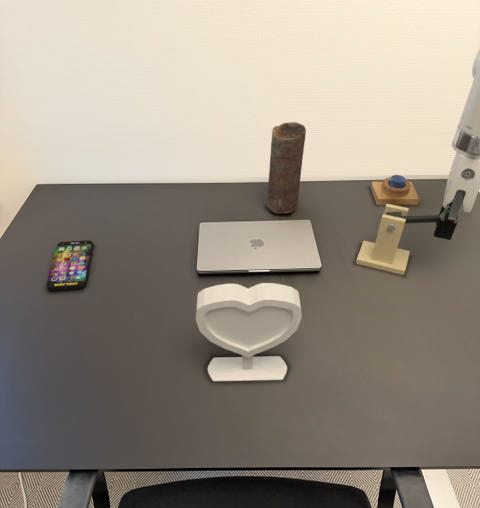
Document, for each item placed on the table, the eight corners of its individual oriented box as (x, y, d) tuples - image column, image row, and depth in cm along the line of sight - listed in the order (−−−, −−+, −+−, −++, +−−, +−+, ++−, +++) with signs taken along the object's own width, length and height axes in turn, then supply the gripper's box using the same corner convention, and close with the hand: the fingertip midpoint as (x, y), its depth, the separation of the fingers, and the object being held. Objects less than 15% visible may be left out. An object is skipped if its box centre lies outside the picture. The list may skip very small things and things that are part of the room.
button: (402, 181, 116) (403, 174, 115) (405, 189, 114) (407, 182, 112) (387, 181, 116) (389, 174, 115) (390, 188, 114) (392, 182, 112)
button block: (409, 187, 120) (413, 175, 117) (417, 205, 114) (421, 192, 112) (370, 187, 120) (373, 175, 117) (376, 205, 114) (379, 192, 112)
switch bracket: (408, 255, 101) (424, 208, 92) (403, 275, 97) (419, 227, 88) (362, 244, 104) (373, 198, 95) (355, 263, 99) (366, 216, 91)
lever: (458, 220, 89) (458, 205, 87) (457, 230, 87) (457, 214, 85) (388, 223, 95) (387, 209, 93) (385, 231, 93) (384, 217, 91)
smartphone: (93, 239, 103) (85, 285, 93) (94, 243, 104) (86, 289, 94) (57, 242, 103) (44, 288, 92) (58, 245, 103) (46, 291, 93)
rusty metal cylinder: (302, 214, 112) (311, 132, 97) (274, 220, 110) (279, 138, 95) (289, 198, 116) (296, 117, 102) (261, 203, 115) (265, 122, 100)
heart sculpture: (201, 381, 78) (193, 304, 65) (202, 357, 82) (195, 280, 69) (294, 379, 78) (305, 302, 65) (291, 356, 82) (300, 278, 69)
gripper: (501, 167, 71) (459, 261, 84) (503, 123, 81) (466, 213, 95) (449, 157, 73) (417, 251, 86) (458, 116, 83) (428, 205, 97)
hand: (443, 230), depth 90 cm, fingers closed on lever, 3 cm apart
